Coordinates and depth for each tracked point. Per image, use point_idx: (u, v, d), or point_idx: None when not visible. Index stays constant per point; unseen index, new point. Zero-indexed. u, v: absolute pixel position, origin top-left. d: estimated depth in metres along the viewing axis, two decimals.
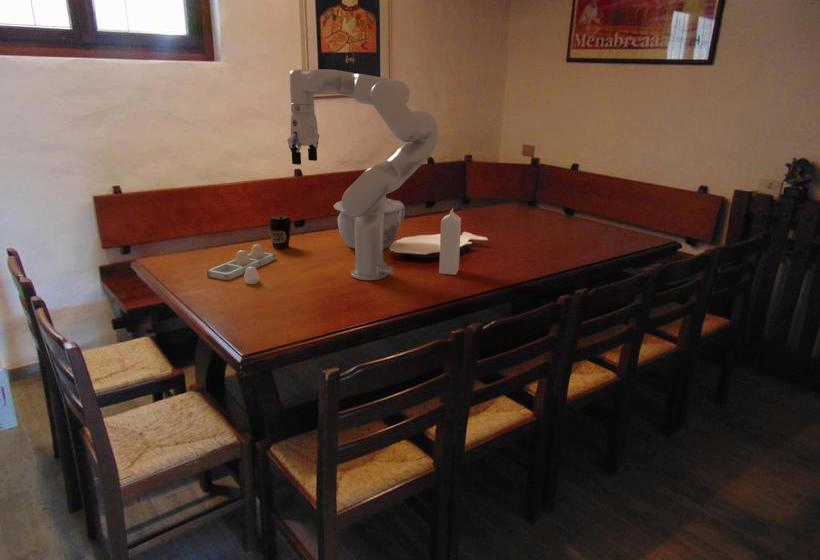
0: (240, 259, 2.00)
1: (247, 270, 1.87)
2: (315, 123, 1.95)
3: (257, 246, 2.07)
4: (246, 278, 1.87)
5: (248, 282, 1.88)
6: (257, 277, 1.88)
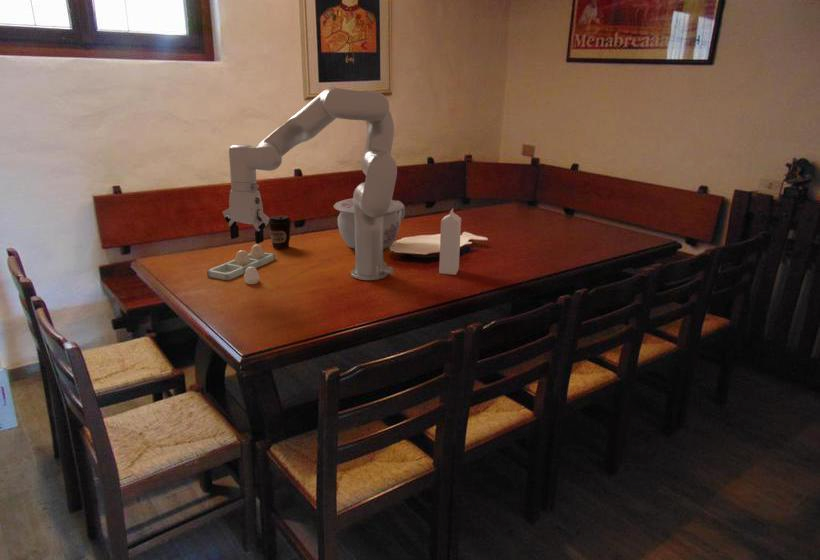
0: (240, 259, 2.00)
1: (247, 270, 1.87)
2: None
3: (257, 246, 2.07)
4: (246, 278, 1.87)
5: (248, 282, 1.88)
6: (257, 277, 1.88)
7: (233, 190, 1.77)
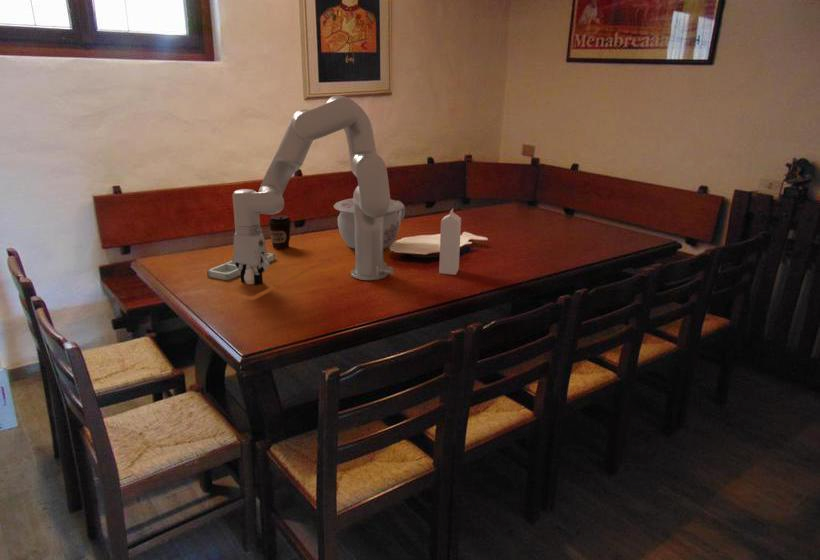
0: None
1: (247, 270, 1.87)
2: None
3: None
4: (246, 278, 1.87)
5: (248, 282, 1.88)
6: None
7: (237, 234, 1.82)
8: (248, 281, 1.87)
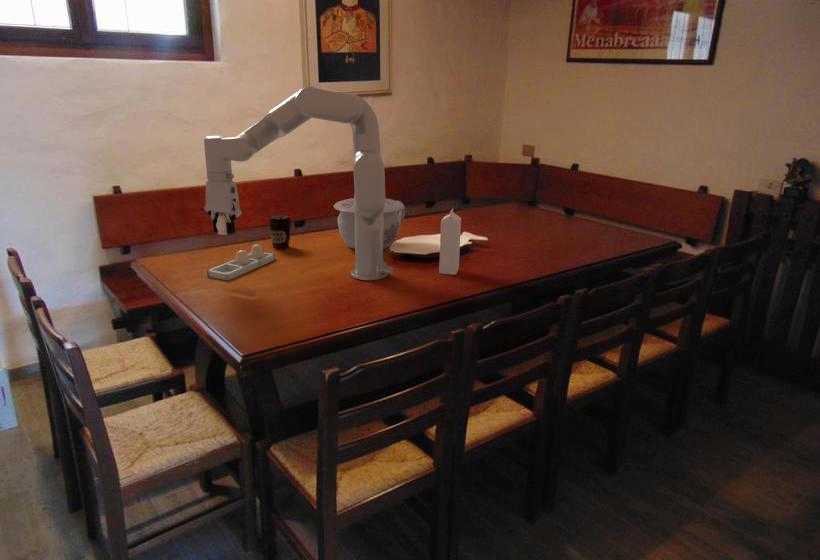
0: (240, 259, 2.00)
1: (219, 218, 1.88)
2: None
3: (257, 246, 2.07)
4: (218, 226, 1.88)
5: (220, 230, 1.88)
6: None
7: (209, 180, 1.82)
8: (220, 229, 1.88)
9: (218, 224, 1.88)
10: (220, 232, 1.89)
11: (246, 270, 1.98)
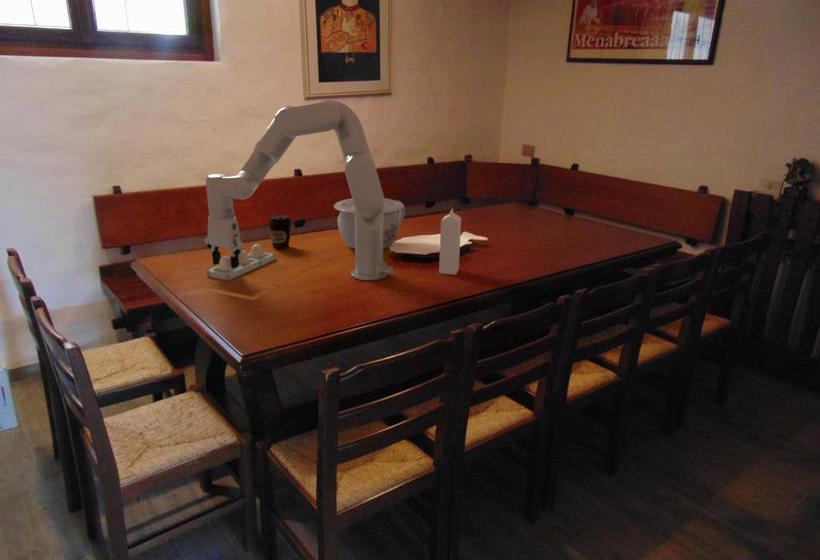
0: (240, 259, 2.00)
1: (221, 259, 1.93)
2: None
3: (257, 246, 2.07)
4: (220, 267, 1.93)
5: (222, 271, 1.94)
6: None
7: (211, 217, 1.87)
8: (222, 270, 1.93)
9: (220, 266, 1.93)
10: None
11: (246, 270, 1.98)
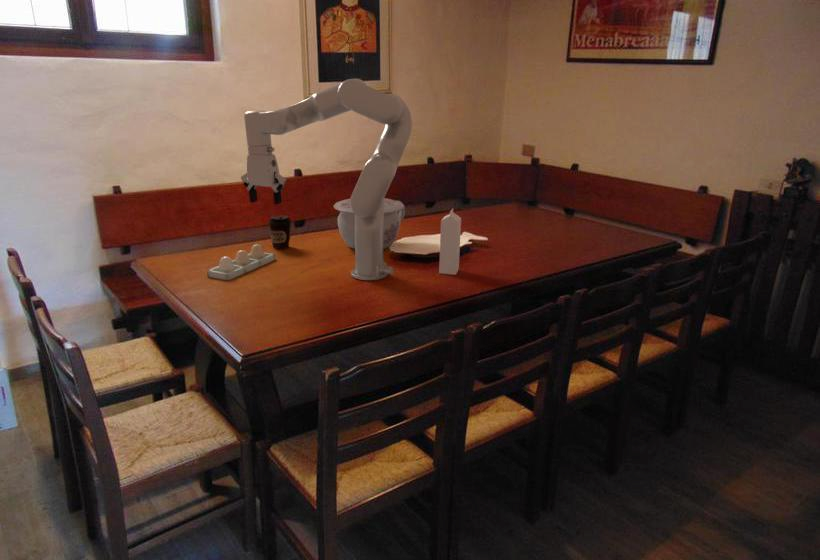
0: (240, 259, 2.00)
1: (221, 260, 1.93)
2: None
3: (257, 246, 2.07)
4: (220, 268, 1.93)
5: (222, 271, 1.94)
6: (231, 267, 1.94)
7: (250, 154, 1.87)
8: (222, 271, 1.93)
9: (220, 266, 1.93)
10: None
11: (246, 270, 1.98)
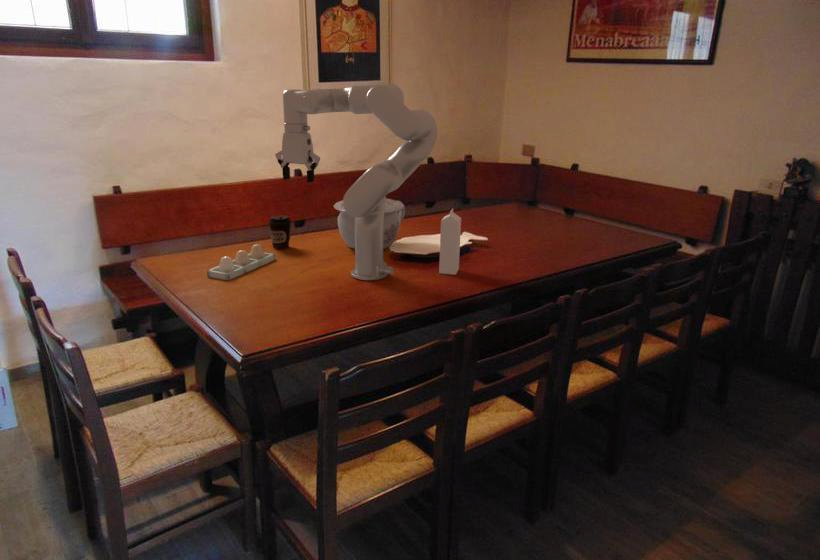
0: (240, 259, 2.00)
1: (222, 260, 1.93)
2: None
3: (257, 246, 2.07)
4: (220, 267, 1.93)
5: (222, 271, 1.94)
6: (231, 267, 1.94)
7: (287, 132, 1.91)
8: (222, 270, 1.93)
9: (221, 266, 1.93)
10: None
11: (246, 270, 1.98)
